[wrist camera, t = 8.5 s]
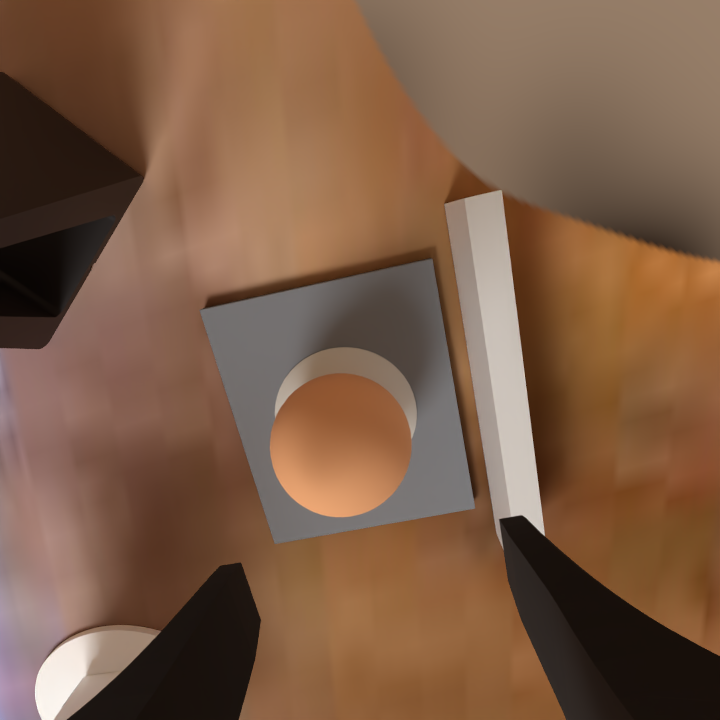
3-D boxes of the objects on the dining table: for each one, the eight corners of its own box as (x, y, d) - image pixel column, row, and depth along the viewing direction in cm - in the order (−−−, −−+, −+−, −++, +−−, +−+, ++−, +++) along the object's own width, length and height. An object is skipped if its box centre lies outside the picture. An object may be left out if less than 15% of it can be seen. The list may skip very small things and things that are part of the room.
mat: (430, 258, 19) (432, 259, 18) (472, 502, 22) (475, 509, 22) (203, 308, 20) (198, 310, 19) (276, 537, 23) (274, 545, 23)
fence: (473, 196, 18) (501, 189, 15) (520, 529, 23) (551, 590, 19) (444, 203, 18) (464, 198, 15) (496, 533, 23) (522, 595, 19)
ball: (394, 345, 19) (400, 389, 14) (417, 458, 21) (430, 536, 16) (271, 370, 20) (233, 421, 15) (302, 478, 22) (277, 560, 16)
